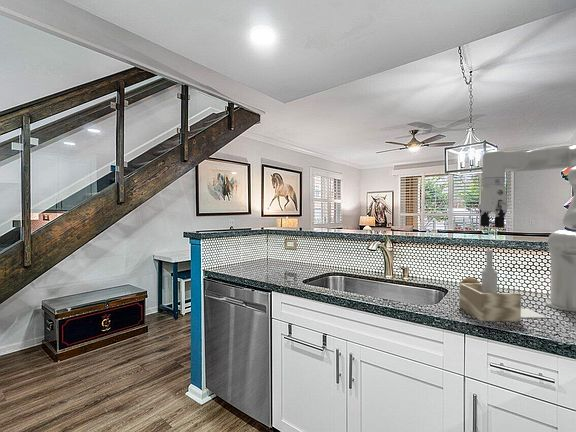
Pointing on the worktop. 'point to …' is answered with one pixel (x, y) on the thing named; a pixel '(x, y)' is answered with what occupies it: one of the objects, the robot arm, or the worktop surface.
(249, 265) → the worktop surface
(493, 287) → the bottle
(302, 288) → the worktop surface
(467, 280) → the natural sponge
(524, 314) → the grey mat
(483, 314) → the open side box
